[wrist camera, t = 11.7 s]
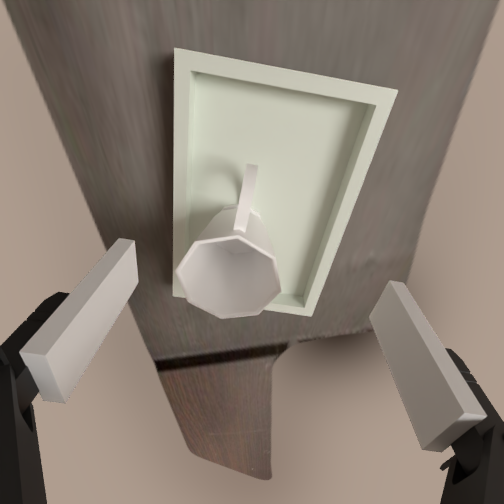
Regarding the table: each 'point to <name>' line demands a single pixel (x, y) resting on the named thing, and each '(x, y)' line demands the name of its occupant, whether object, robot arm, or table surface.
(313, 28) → the table surface
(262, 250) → the cup
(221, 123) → the tray
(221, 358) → the table surface
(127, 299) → the robot arm
